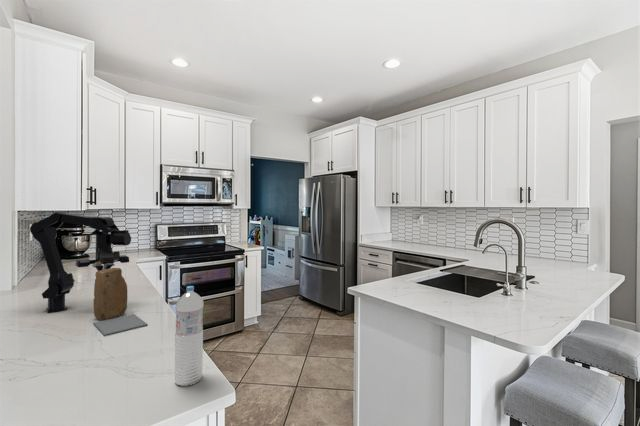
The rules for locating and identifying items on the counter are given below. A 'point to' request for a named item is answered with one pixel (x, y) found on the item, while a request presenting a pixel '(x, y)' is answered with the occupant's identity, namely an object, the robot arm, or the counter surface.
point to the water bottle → (189, 338)
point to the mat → (119, 324)
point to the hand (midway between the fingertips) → (103, 280)
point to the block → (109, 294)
